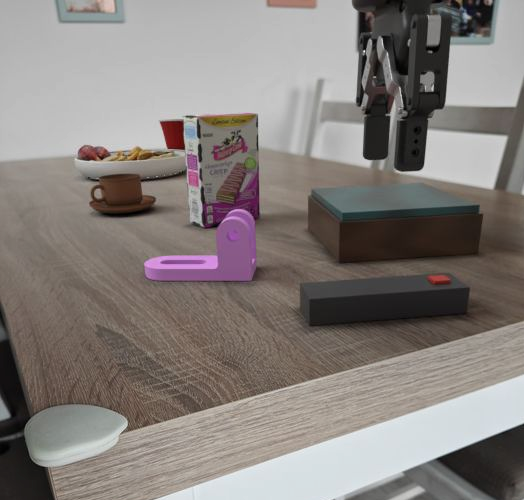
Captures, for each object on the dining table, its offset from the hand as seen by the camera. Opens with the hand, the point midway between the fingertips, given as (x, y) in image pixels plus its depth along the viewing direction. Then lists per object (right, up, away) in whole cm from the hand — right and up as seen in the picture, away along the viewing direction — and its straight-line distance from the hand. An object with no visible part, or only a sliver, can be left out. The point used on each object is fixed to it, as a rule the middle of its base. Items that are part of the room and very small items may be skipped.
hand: (390, 164), depth 47 cm
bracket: (-18, -7, +18) cm, 27 cm away
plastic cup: (-39, +47, +135) cm, 148 cm away
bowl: (-45, +31, +101) cm, 114 cm away
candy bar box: (-17, +5, +44) cm, 48 cm away
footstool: (+6, 0, +30) cm, 31 cm away
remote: (0, -12, +6) cm, 13 cm away
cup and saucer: (-37, +10, +55) cm, 67 cm away
